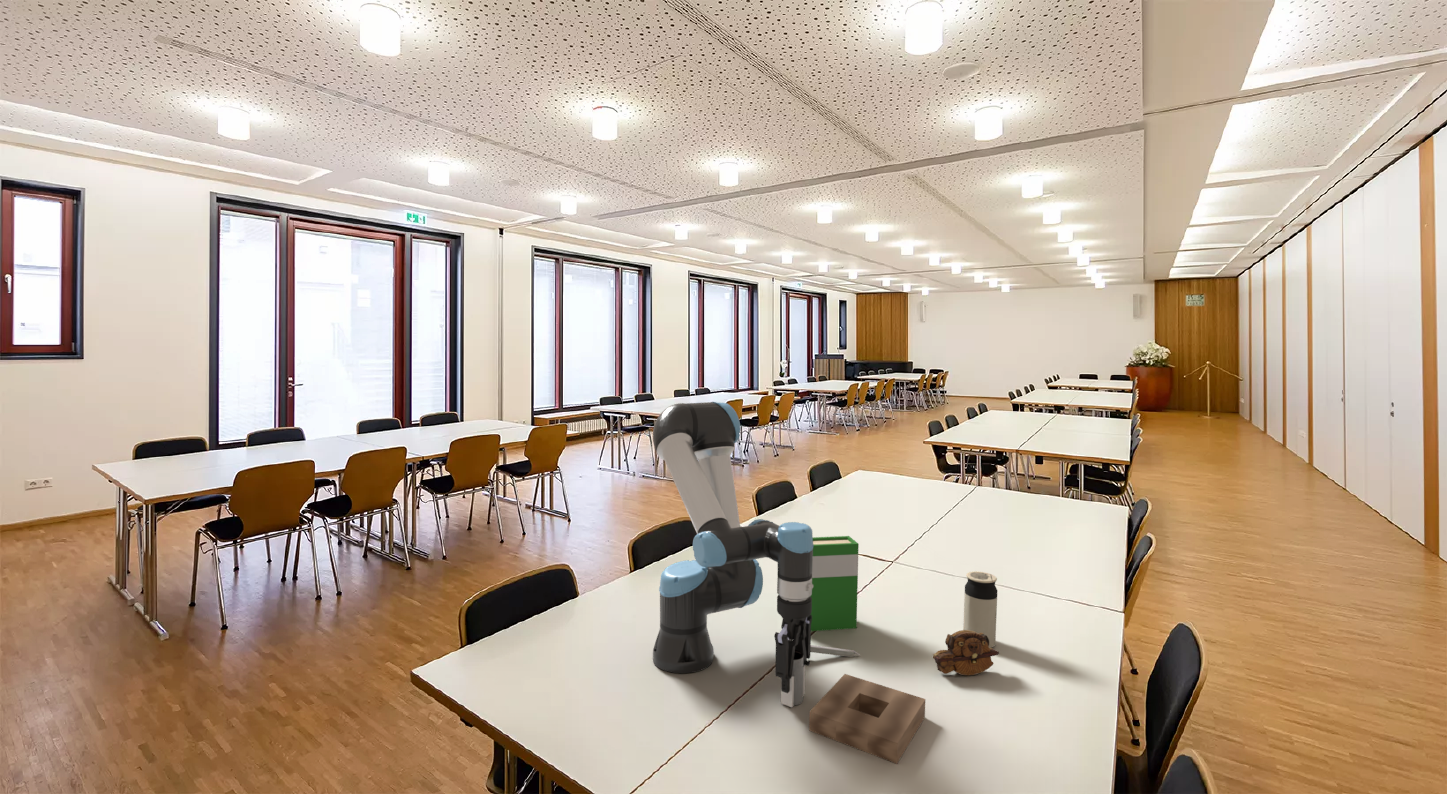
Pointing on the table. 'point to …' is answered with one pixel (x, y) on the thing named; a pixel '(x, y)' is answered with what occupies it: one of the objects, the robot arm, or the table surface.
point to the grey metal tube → (798, 677)
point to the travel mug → (981, 605)
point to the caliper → (833, 651)
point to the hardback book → (834, 583)
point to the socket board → (868, 717)
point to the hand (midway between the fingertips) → (792, 698)
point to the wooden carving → (965, 653)
